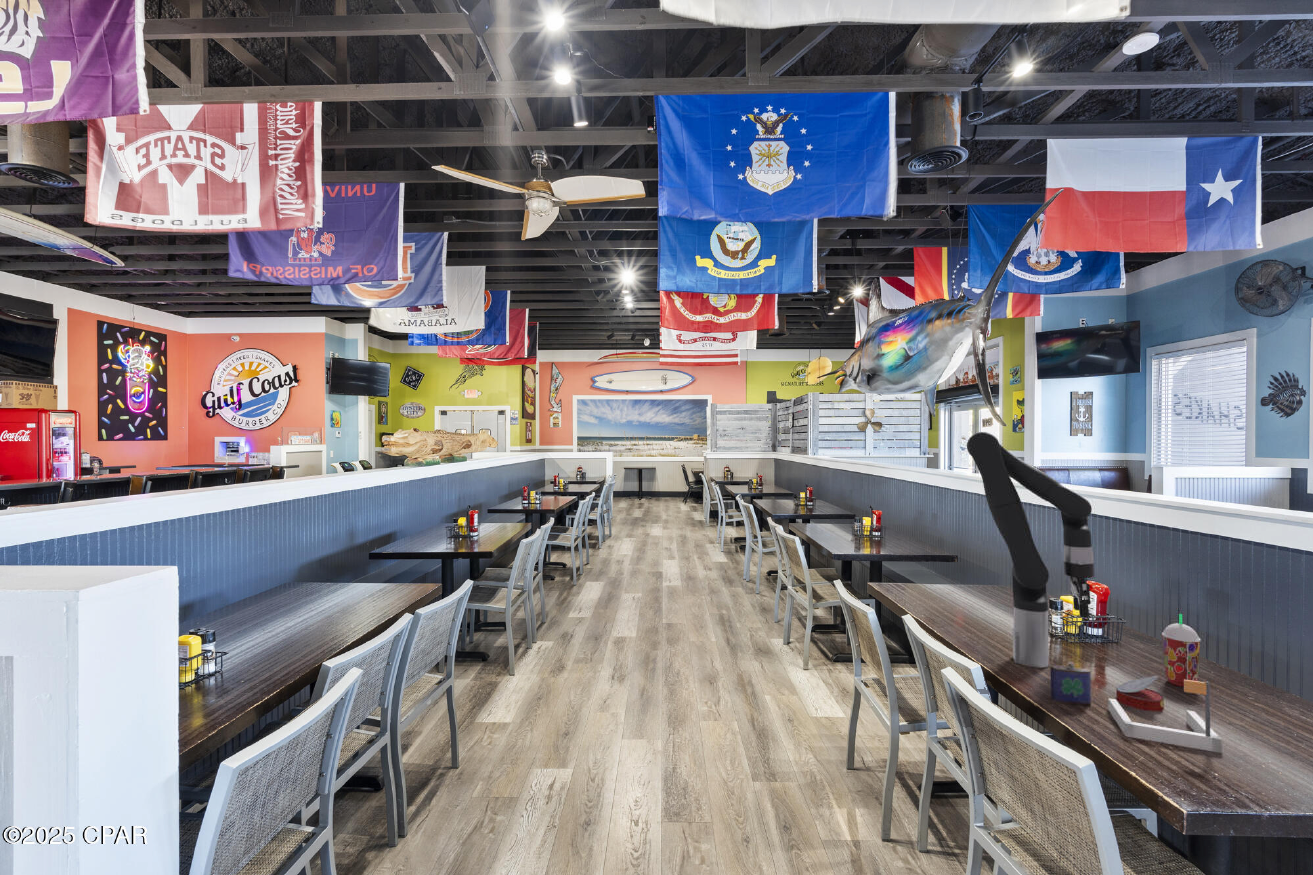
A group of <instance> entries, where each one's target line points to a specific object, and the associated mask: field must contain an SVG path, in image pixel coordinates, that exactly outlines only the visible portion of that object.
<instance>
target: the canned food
mask: <svg viewBox="0 0 1313 875" xmlns="http://www.w3.org/2000/svg"><path fill="white" fill-rule="evenodd" d="M1156 680H1159V676H1158V675H1152V676H1147V677H1142V678H1138V679H1133V680H1129V681H1126V682H1123V683H1121V684H1119V685H1117V686H1116V687H1115V689H1116V695H1115V696H1116V700H1117V702H1118V703H1119V704H1122V705H1124V706H1126V707H1130V708H1133V709H1136V710H1142V711H1147V712H1161V711H1164V710H1165V697H1164V696H1163V695H1162V693H1160V692H1157V691H1156V690H1152V689H1150V688H1149V687H1151V685H1152V684H1153V683H1154V682H1155V681H1156Z"/></svg>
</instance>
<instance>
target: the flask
mask: <svg viewBox="0 0 1313 875" xmlns="http://www.w3.org/2000/svg"><path fill="white" fill-rule="evenodd" d="M1075 665H1076V664H1074V662H1073V661H1069V662H1068V664H1067V665H1065V666H1064V665H1059V664H1056V665H1051V666H1050V668H1049V669H1050V700H1051V701H1052V702H1055V703H1058V704H1060V703H1061V704H1064V705H1065V704H1066V705H1076V706H1077V705H1079V706H1091V705H1092V691H1091V690H1092V688H1091V685H1092V684H1091V683H1092V682H1091V678H1092V677H1091V671H1090V670H1089V669H1088V668H1078V667H1075Z"/></svg>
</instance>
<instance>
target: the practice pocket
mask: <svg viewBox="0 0 1313 875" xmlns="http://www.w3.org/2000/svg"><path fill="white" fill-rule="evenodd" d="M1210 685H1211V684H1210V681H1206V680H1205V681H1191V680H1184V687H1183V691H1184V693H1190V694H1197V695H1204V708H1205V711H1204V712H1205V713H1204V715H1205V716H1204V717H1205V718H1204V719H1205V720H1203V718H1202V717H1201V716H1199V714H1198V713H1197V712H1196V711H1194V710H1193V711H1192V710H1187V709H1185V716H1186V718H1185V721H1186V722H1185V723H1186V724H1187V725H1188V726H1189V727H1190V728H1191V730H1192V731H1189V730H1184V729H1177V728H1170V727H1164V726H1157V725H1153V724H1146V723H1141V722H1133V720H1131V719H1130V717H1129V716H1128V714H1127V713H1126V711H1125V710H1124V708H1123V707H1122V706H1121V703H1120V702H1119V701H1118V700H1117V698H1116V699H1115V698H1110V697H1109V698H1108V699H1107V701H1108V702H1107V703H1108V704H1107V705H1108V706H1107V707H1108V708H1107V710H1108V712H1109V713H1110V715H1111V716H1112V718H1113V719H1114V720H1115V722H1116V724H1117V725H1118V727H1119V728H1120V730H1121V731H1122V732H1121V733H1123V735H1124V736H1125V737H1129V738H1134V739H1139V740H1144V741H1145V740H1146V741H1150V740H1151V741H1150V742H1155V743H1162V742H1163V743H1162V744H1168V745H1173V744H1174V745H1175V746H1179V747H1184V748H1191V749H1195V750H1202V751H1203V750H1204V751H1209V752H1213V753H1220V754H1222V753H1223V739H1222V738H1221V737H1220V735H1218V734H1217V733H1216V732H1215V730H1213V728H1211V686H1210Z"/></svg>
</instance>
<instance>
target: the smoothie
mask: <svg viewBox="0 0 1313 875" xmlns="http://www.w3.org/2000/svg"><path fill="white" fill-rule="evenodd" d="M1178 618H1179V619H1178V622H1176V623H1171V624H1169V625H1167V626H1166V627H1165V629H1164V630H1163V632H1161V638H1162V645H1163V646H1162V648H1163V659H1164V668H1165V670H1164V671H1165V677H1166V678H1167V680H1168V682H1169V683H1171V684H1173V685H1175V686H1177V687H1182V688H1184V680H1191V681H1198V680H1199V679H1198V678H1199V668H1200V666H1199V665H1200V650H1201V638H1200V636H1199V635H1198V633H1197V631H1195V630H1194V628H1192V627H1190V626H1189V625H1187V624H1184V623H1183V614H1182V613H1179V614H1178Z"/></svg>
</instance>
